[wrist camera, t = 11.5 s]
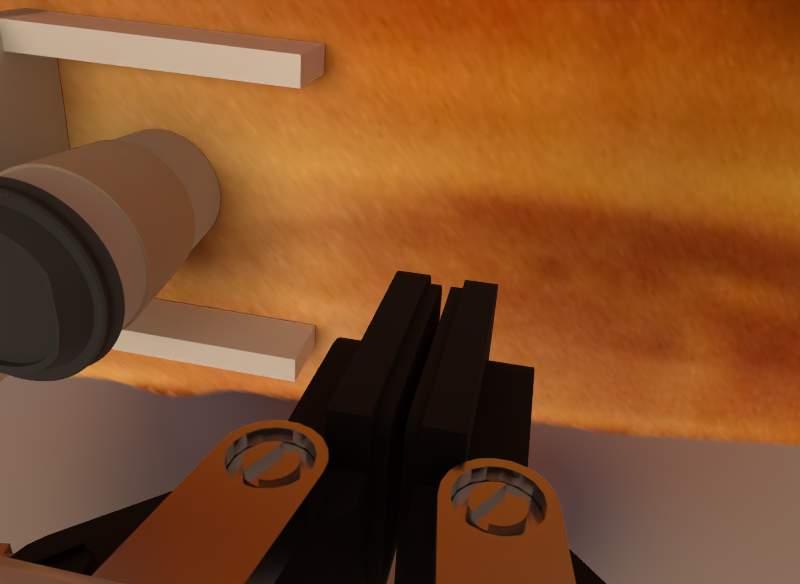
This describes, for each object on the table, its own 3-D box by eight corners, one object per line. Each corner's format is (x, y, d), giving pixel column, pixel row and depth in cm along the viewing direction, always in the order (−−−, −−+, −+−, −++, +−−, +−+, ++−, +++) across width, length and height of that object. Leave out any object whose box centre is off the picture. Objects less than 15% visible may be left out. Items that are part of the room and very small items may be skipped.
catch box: (324, 43, 34) (252, 76, 26) (314, 346, 43) (257, 449, 34) (24, 8, 36) (-139, 27, 28) (70, 304, 45) (-44, 391, 36)
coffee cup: (98, 243, 42) (-102, 377, 29) (86, 96, 38) (-152, 174, 25) (237, 273, 41) (97, 425, 28) (242, 125, 37) (80, 223, 24)
